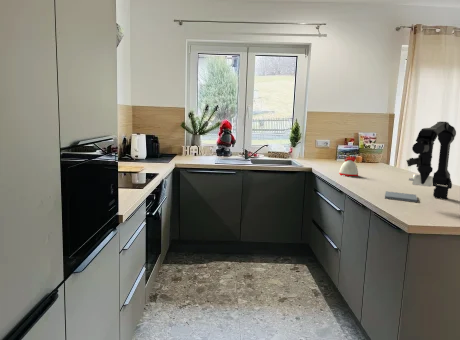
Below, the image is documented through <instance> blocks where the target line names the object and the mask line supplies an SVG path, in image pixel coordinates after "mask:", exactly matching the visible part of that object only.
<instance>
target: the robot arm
mask: <svg viewBox="0 0 460 340" xmlns="http://www.w3.org/2000/svg"><path fill="white" fill-rule="evenodd" d="M456 135H457V131H456V128H455V127H454V126H453V125H451V124H450V123H449V122H448V121H437V123H436V124H434V125H432V126H430V127H424V128H421V129H420V131H419V132H418V134H417V137H416V139H415V143H414V144H413V145H412V147H411V148H412V149H411V150H412V151H413V154H416V155H417V157H411V158H409V159H406V164H407V167H412V166H416V169H417V172H418V173H419V175H421V184H424V183H425V181H426V179H427V178H428V176H431V173H433V175H432V176H433V181H432V187H434V188H433V194H432V195H433V197H434V198H435V199H443V200H448V199H449V198H448V194H449V189H450V190H451V189H452V188H453V181H452V180H451V174H450V172H449V170H448V169H449V168H448V167H449V160H450V150H451V149H450V148H451V143H453V142H454V140H455V138H456ZM436 139H437V140H438V143H440V145H439V154H438V155H439V157H438V162H437V163H438V164H437V165H438V166H437V169H436V171H435V172H433V167H432V159H433V150H434V145H435V142H436Z"/></svg>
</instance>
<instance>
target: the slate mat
mask: <svg viewBox="0 0 460 340" xmlns="http://www.w3.org/2000/svg"><path fill="white" fill-rule="evenodd" d="M384 199H388V200H396V201H406V202H412V203H418V197H417V194H412V193H404V192H394V191H385V193H384Z"/></svg>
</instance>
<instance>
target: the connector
mask: <svg viewBox="0 0 460 340" xmlns="http://www.w3.org/2000/svg"><path fill="white" fill-rule="evenodd" d="M433 176H434V175H429V176H428V178H427V179H426V181H425V183H424V184H421V175H420V174H413V177H412V178H411V177H408V181H411V182H412V184H411V185H413V186H420V187H433V183H432V181H433Z"/></svg>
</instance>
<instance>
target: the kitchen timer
mask: <svg viewBox="0 0 460 340" xmlns="http://www.w3.org/2000/svg"><path fill="white" fill-rule="evenodd" d="M355 161H356V157H355V156H351V155H350V156H349V155H348V157H346V159H344V162H343V163H342V164H341V167H340V169H339V171H338V174H340V176H342V175H345V176H344V177H349V176H357V177H359V170H358V166H357V164H356V163H355Z"/></svg>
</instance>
